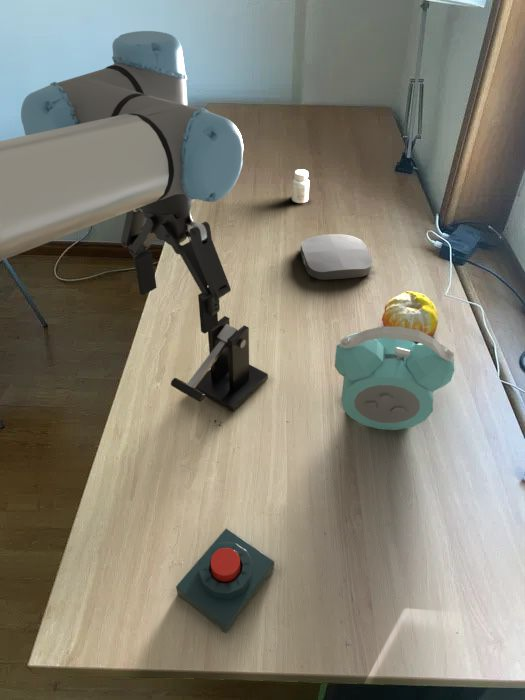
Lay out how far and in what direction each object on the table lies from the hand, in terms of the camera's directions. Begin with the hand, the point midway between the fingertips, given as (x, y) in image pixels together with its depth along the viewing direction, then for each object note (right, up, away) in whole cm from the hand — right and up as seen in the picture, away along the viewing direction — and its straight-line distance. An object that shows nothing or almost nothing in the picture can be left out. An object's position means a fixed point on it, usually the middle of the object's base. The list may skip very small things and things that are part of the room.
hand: (177, 308), depth 84 cm
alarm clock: (+32, -17, +9) cm, 38 cm away
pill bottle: (+23, +34, +65) cm, 77 cm away
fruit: (+41, -2, +26) cm, 49 cm away
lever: (+5, -9, +6) cm, 12 cm away
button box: (+8, -36, -12) cm, 39 cm away
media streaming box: (+29, +14, +43) cm, 54 cm away
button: (+8, -33, -14) cm, 37 cm away
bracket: (+7, -12, +14) cm, 20 cm away
